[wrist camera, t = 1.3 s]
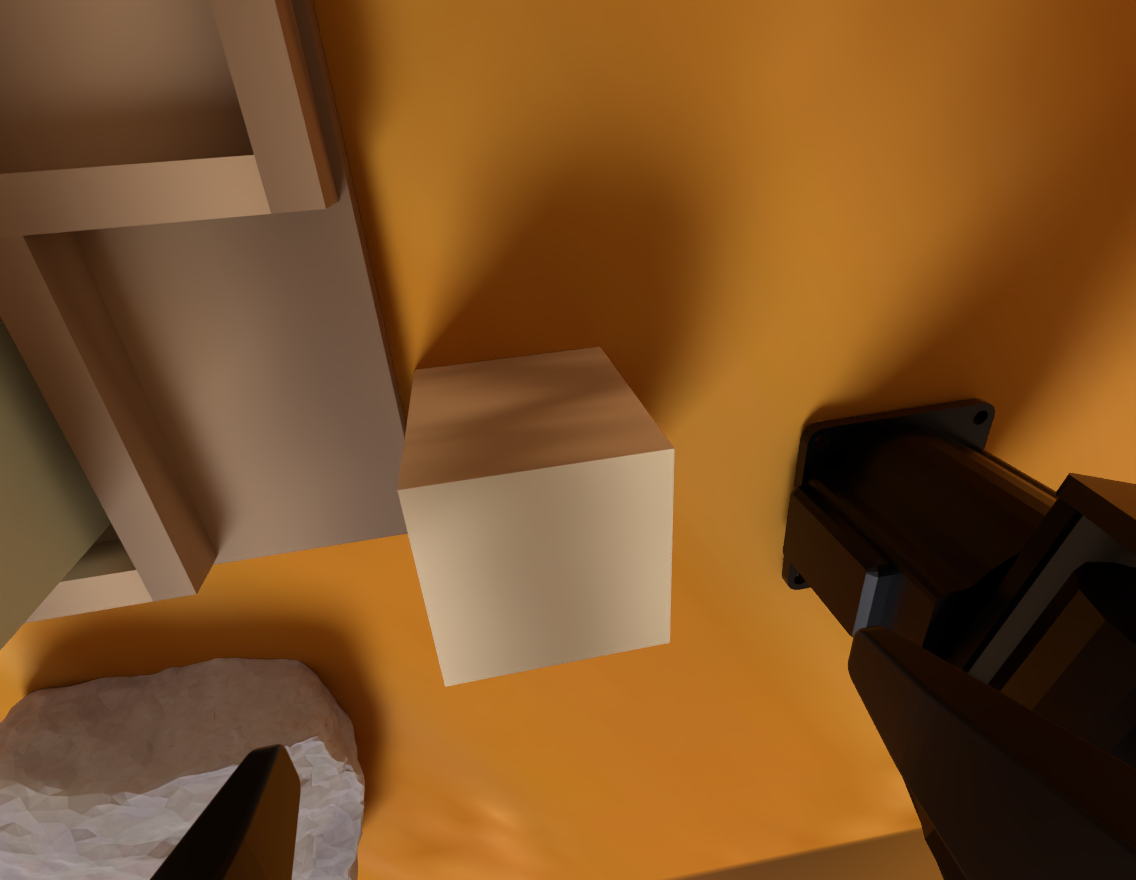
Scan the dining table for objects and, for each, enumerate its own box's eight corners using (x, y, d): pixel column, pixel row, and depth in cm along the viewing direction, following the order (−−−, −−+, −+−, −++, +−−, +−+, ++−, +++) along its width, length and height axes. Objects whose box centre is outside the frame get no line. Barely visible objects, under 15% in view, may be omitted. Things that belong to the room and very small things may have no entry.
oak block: (599, 345, 16) (674, 448, 11) (606, 497, 18) (669, 642, 13) (414, 369, 15) (397, 490, 10) (446, 523, 18) (445, 686, 12)
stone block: (335, 600, 21) (-26, 686, 17) (345, 714, 17) (-120, 855, 13) (377, 795, 26) (113, 888, 23) (392, 913, 22) (76, 1047, 19)
